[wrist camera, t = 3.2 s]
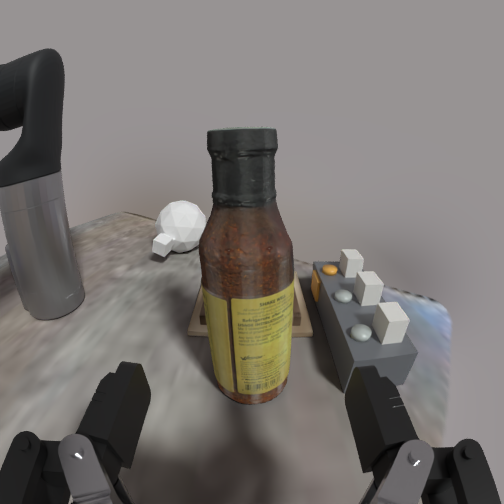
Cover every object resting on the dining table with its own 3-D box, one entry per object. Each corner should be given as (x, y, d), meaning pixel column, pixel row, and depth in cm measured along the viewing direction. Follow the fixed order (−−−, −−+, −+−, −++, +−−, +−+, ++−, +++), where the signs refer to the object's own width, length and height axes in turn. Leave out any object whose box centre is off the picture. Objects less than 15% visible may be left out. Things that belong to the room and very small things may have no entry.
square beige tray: (188, 335, 29) (185, 321, 28) (206, 274, 41) (205, 262, 41) (312, 336, 29) (314, 323, 28) (295, 274, 41) (296, 263, 41)
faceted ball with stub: (169, 228, 55) (135, 259, 45) (176, 186, 50) (137, 211, 40) (208, 244, 54) (180, 280, 44) (219, 202, 49) (188, 232, 39)
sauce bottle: (296, 367, 25) (317, 130, 17) (271, 418, 19) (290, 125, 11) (231, 349, 27) (226, 129, 19) (198, 391, 22) (170, 129, 14)
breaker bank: (340, 393, 21) (357, 337, 19) (308, 288, 38) (313, 244, 35) (403, 384, 21) (427, 330, 19) (352, 287, 38) (359, 244, 35)
